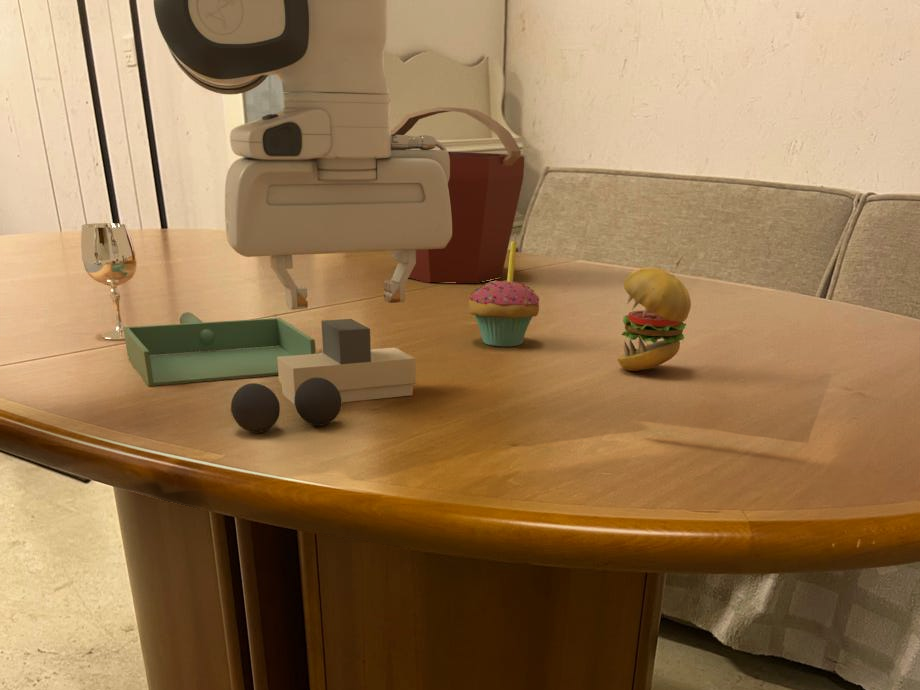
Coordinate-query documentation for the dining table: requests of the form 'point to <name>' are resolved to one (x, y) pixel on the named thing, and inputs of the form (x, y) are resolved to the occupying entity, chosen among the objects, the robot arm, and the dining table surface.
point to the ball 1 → (255, 407)
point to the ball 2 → (317, 401)
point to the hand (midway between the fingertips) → (347, 305)
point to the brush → (350, 365)
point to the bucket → (474, 208)
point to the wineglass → (109, 261)
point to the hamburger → (654, 317)
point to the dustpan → (212, 349)
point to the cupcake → (504, 308)
